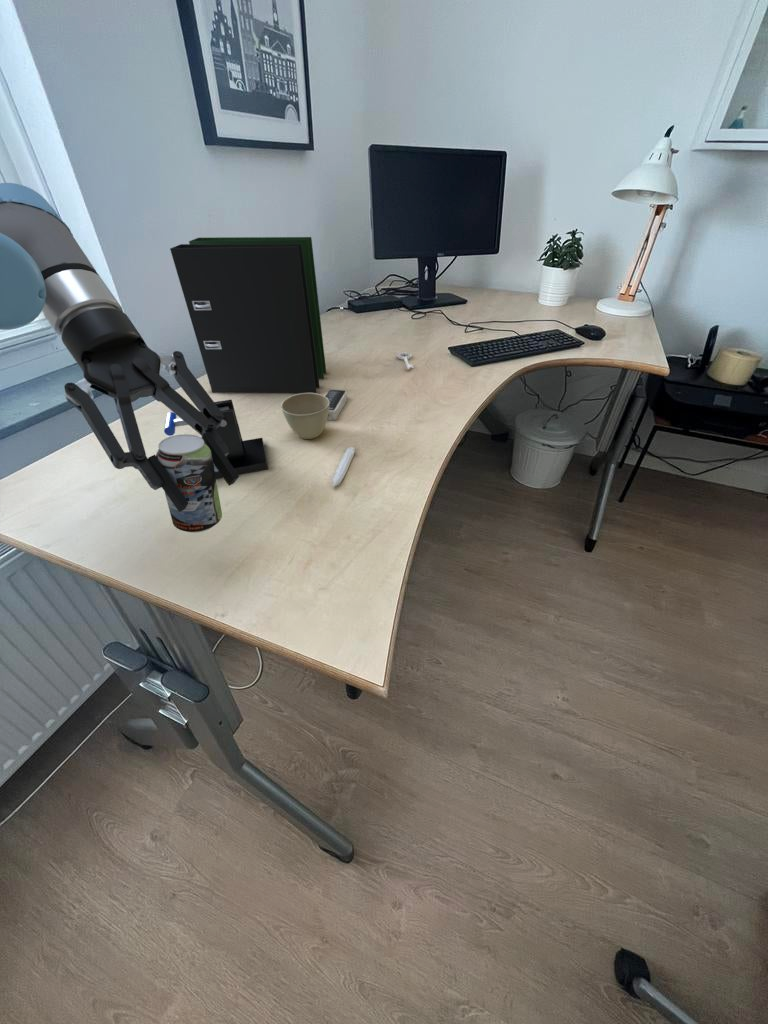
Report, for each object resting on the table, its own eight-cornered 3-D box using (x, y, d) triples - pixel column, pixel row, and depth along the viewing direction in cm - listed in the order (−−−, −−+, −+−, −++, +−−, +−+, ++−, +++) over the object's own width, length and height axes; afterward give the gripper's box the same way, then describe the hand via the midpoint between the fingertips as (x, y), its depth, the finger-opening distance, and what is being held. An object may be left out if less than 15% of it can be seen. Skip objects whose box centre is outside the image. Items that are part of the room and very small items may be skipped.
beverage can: (166, 531, 56) (127, 454, 48) (206, 497, 61) (177, 423, 53) (202, 546, 54) (168, 468, 46) (241, 510, 59) (216, 434, 51)
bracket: (203, 480, 81) (183, 424, 74) (204, 453, 89) (186, 400, 81) (268, 469, 84) (255, 413, 76) (263, 443, 91) (251, 390, 84)
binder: (326, 372, 120) (312, 236, 99) (315, 395, 108) (295, 248, 88) (232, 370, 122) (198, 237, 101) (211, 393, 111) (168, 249, 90)
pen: (330, 491, 78) (329, 483, 77) (349, 450, 89) (348, 443, 88) (338, 492, 78) (337, 484, 77) (356, 450, 88) (356, 443, 87)
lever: (166, 438, 76) (162, 426, 75) (169, 422, 81) (164, 410, 79) (232, 427, 79) (228, 415, 77) (231, 413, 83) (227, 401, 82)
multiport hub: (347, 399, 107) (346, 390, 105) (335, 420, 98) (334, 411, 97) (330, 397, 107) (329, 389, 106) (316, 418, 99) (315, 409, 98)
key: (410, 354, 128) (396, 354, 128) (410, 351, 128) (396, 351, 128) (415, 370, 119) (400, 370, 119) (415, 366, 119) (400, 367, 119)
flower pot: (277, 440, 92) (271, 409, 88) (301, 419, 99) (297, 389, 95) (318, 449, 89) (314, 418, 84) (340, 426, 96) (337, 396, 91)
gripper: (168, 325, 58) (265, 469, 60) (4, 367, 47) (129, 542, 50) (175, 288, 52) (283, 450, 54) (-12, 326, 41) (133, 527, 43)
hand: (209, 493), depth 52 cm, fingers closed on beverage can, 6 cm apart
